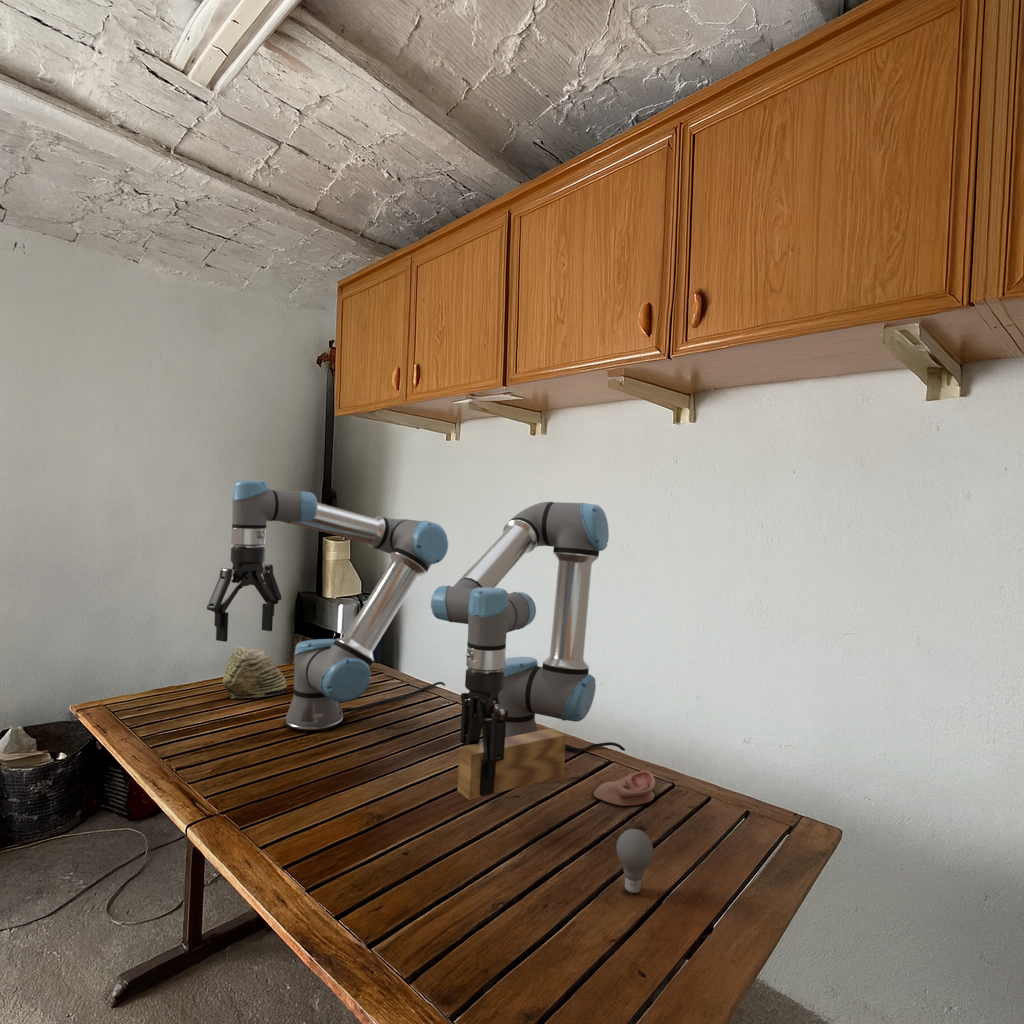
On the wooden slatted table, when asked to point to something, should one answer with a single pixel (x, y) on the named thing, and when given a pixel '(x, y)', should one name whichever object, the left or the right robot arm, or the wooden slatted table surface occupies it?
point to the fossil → (252, 674)
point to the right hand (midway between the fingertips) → (479, 788)
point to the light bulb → (634, 857)
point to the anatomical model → (628, 790)
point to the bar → (514, 762)
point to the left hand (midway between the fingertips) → (245, 635)
